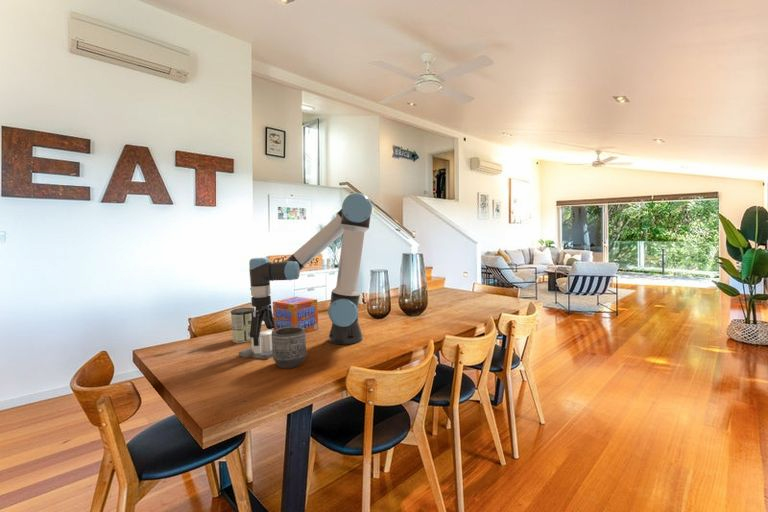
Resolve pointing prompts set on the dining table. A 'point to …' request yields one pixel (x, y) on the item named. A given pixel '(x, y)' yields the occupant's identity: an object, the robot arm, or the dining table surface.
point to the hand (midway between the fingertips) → (264, 348)
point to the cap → (264, 340)
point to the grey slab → (250, 353)
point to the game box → (296, 313)
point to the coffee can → (241, 324)
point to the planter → (289, 346)
